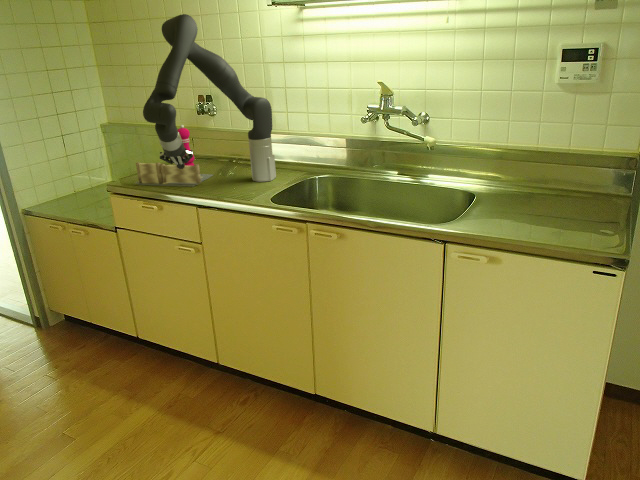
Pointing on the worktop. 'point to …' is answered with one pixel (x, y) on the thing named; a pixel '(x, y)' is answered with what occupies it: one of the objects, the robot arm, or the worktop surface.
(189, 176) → the fence gate
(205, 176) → the card
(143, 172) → the fence frame
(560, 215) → the worktop surface
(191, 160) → the pepper mill
